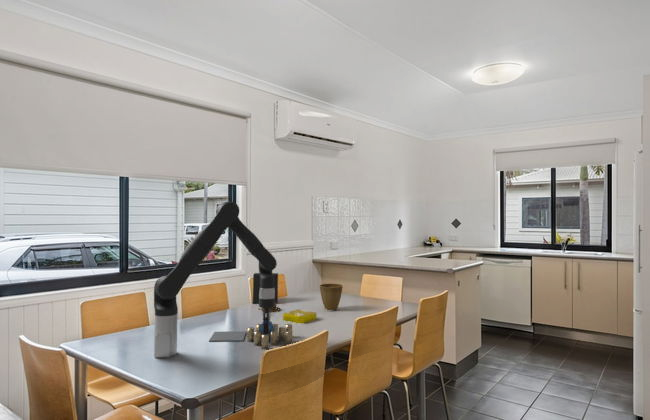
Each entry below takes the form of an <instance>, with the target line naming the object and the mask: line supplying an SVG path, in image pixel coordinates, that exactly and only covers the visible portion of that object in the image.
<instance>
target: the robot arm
mask: <svg viewBox="0 0 650 420" xmlns="http://www.w3.org/2000/svg"><path fill="white" fill-rule="evenodd" d="M239 214H240V207H239V205H238V204H237V203H235V202H234V201H225V202H221V203H220V204H218V205H217V206H216V209H215V215H214V217H213V219H212V220H211V221H210V222H209V224H207V225H206V226H205V227H204V228H202V229H201V230H200V231H199V232H198V233H196V235H195V236H194V237H193V238H192V239H191V240H190V242H189V243H188V244H187V246H185V248H184V250H183V252H182V254H181V256H180V257H179V259H178V262H177V264H176V265H175V267H174V268H173V269H172V270H171V271H170V272H169V273H168V275H163V276H160V277H158V279H157V280H156V281H155V283H154V286H153V308H154V333H153V334H154V336H153V337H154V338H153V356H154V358H171V357H174V356H176V355H177V353H178V319H179V318H178V317H179V316H178V315H179V314H178V313H179V312H178V310H179V309H178V303H177V296H178V295H179V293H180V291H181V289H182V288H183V286H184V285H185V283H186V282H187V280H188V279H189V278H190V276H191V275H192V273H194V271H195V270H196V269H197V268H198V266H199V265H200V264H201V262H202V261H203V260H204V259H205V258H206V257H207V256H208V255H209V253H210V252H211V250H212V249H213V248H214V247H215V245H216V244H217V242H218V241H219V239H220V238H221V236H222V235H223V233H225V231H226V230H227V229H228V228H229V229H230V230H231V231H232V232H233V234H234V235H235V236H236V237H237V238H238V239H239V241H240V242H241V243H242V245H243V246H244V247H245V248H246V250H247V251H248V252H249V253H250V254H251V256H252V257H254V258H256V259H257V261H258V273H259V274H260V291H259V304H258V307H259V308H260V309H262V308H264V310H263V311H262V313H261V314H262V322H263V326H264V334H268V326H269V321H271V315H272V312H271V310H270V308H273V307H274V306H275V288H274V285H275V279H274V276H273V274H272V273H273V271H274V270H275V269H276V267H277V264H278V263H277V259H276V258H275V256H274V255H273V254H272V253H271V252H270V251H269V250H268V249H267V248H266V247H265V246H264V244H263V243H262V241H260V240H259V238H258V237H257V235H256V234H254V232H252V231H251V230H250V229H249V228H248V227H247V226H246V225H245V224H244V223H243V222H242V221H241V219H240V218H239ZM265 321H268V323H265Z"/></svg>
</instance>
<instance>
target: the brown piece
mask: <svg viewBox="0 0 650 420" xmlns="http://www.w3.org/2000/svg"><path fill="white" fill-rule="evenodd" d="M276 308H277V309H276ZM260 309H261V311H262V312H263V310H264V308H258V310H260ZM278 309H279V310H280V311H281V308H280V307H278V306H277V304H276V303H275V306H274V307H273V308H270V310H271V313H277V312H276V311H278V312H280V311H279V310H278Z"/></svg>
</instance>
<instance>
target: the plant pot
mask: <svg viewBox="0 0 650 420" xmlns="http://www.w3.org/2000/svg"><path fill="white" fill-rule="evenodd" d="M319 289H320V296H321V301H322V304H323V307H324V310H325V309H327V310H335V309H337V310H338V307H339V305H340V301H341V299H342V293H343V284H341V283H322V284H319Z"/></svg>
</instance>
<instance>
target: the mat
mask: <svg viewBox="0 0 650 420" xmlns="http://www.w3.org/2000/svg"><path fill="white" fill-rule="evenodd" d="M246 335H247V331H245V330H244V331H239V330H238V331H233V330H232V331H214V332H213V333H212V335H211V337H210V338H209V339H208V342H209V343H212V342H213V343H216V342H217V343H218V342H220V343H221V342H222V343H224V342H227V343H229V342H234V343H235V342H244V339H245V337H246Z"/></svg>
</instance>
